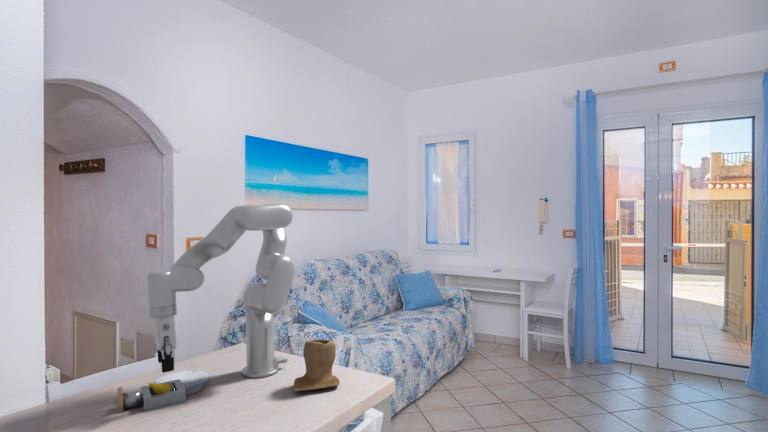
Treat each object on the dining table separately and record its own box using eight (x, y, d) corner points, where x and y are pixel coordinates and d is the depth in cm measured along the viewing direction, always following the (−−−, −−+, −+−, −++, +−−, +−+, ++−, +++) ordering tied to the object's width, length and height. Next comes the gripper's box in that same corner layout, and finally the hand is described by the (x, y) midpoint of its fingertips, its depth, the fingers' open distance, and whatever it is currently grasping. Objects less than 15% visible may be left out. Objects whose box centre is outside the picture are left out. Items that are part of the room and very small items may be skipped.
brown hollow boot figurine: (334, 376, 150) (334, 333, 150) (342, 390, 139) (342, 343, 139) (290, 382, 145) (289, 337, 145) (294, 396, 134) (293, 348, 134)
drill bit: (178, 401, 132) (152, 388, 126) (165, 407, 133) (138, 394, 127) (183, 385, 136) (157, 371, 130) (170, 390, 137) (144, 377, 131)
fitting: (180, 390, 140) (179, 372, 140) (185, 402, 130) (185, 383, 130) (117, 403, 130) (117, 384, 130) (118, 417, 121) (118, 397, 121)
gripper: (180, 314, 127) (184, 372, 127) (172, 303, 141) (175, 355, 142) (151, 318, 123) (155, 378, 123) (146, 307, 137) (149, 360, 138)
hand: (166, 366), depth 133 cm, fingers open, 9 cm apart
